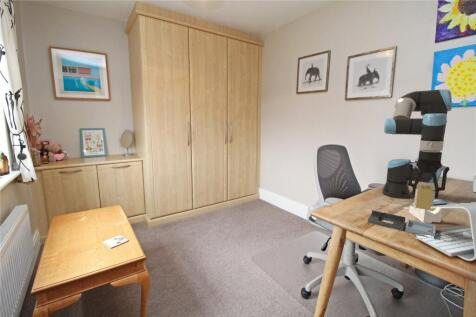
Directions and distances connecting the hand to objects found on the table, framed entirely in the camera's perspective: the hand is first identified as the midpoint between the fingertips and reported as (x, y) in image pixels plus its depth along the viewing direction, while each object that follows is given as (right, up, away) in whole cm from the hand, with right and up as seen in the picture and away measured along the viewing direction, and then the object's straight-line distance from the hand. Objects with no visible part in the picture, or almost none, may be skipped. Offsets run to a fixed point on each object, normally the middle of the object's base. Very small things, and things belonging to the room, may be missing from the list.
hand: (423, 203), depth 102 cm
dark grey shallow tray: (-10, -11, +11) cm, 18 cm away
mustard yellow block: (0, -2, 0) cm, 2 cm away
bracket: (+13, -11, +16) cm, 23 cm away
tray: (0, -13, +2) cm, 13 cm away
